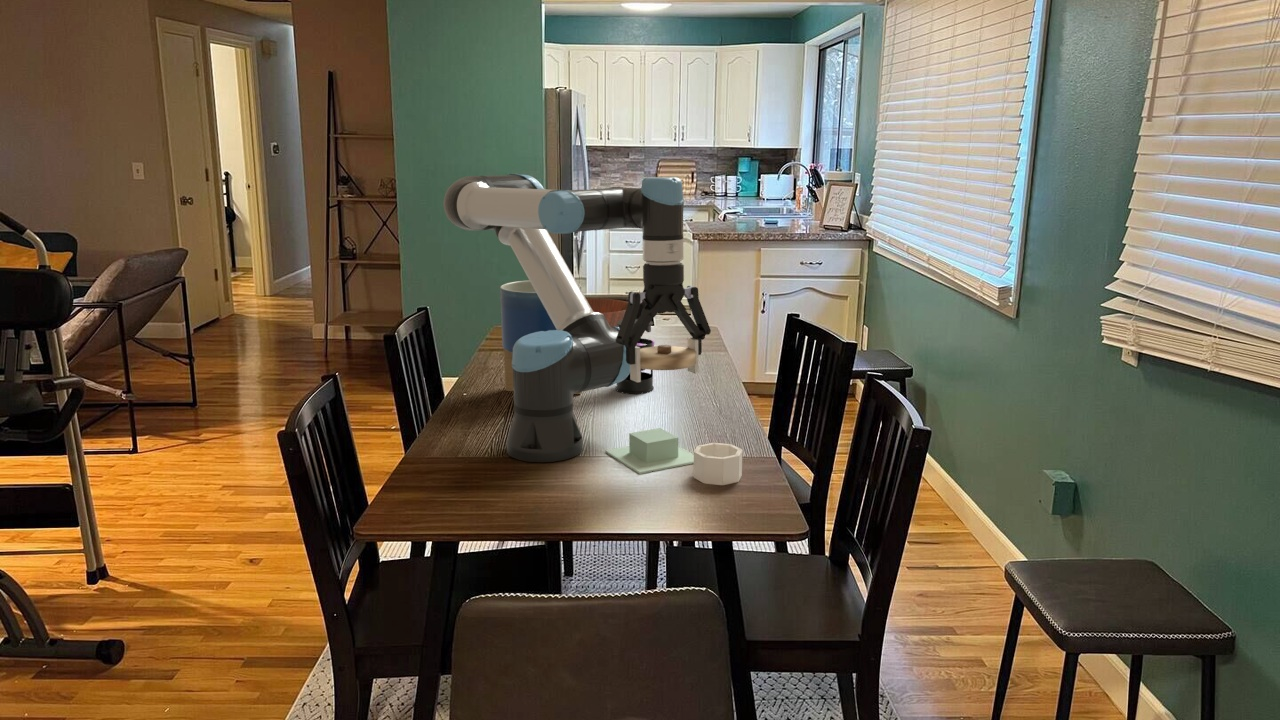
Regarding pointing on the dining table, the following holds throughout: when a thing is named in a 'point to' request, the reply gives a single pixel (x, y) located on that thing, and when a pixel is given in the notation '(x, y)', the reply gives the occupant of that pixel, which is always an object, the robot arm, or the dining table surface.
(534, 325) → the planter
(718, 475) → the ramekin
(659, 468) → the mat stand
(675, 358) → the lid
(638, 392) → the french press
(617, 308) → the bowl
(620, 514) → the dining table surface
